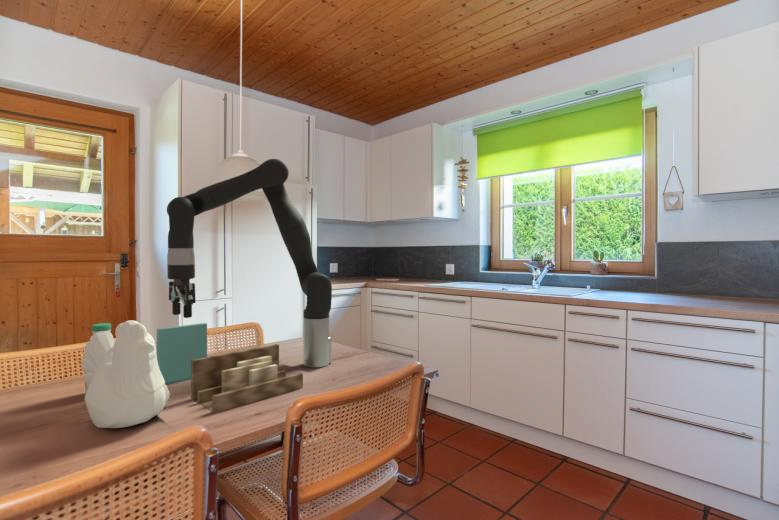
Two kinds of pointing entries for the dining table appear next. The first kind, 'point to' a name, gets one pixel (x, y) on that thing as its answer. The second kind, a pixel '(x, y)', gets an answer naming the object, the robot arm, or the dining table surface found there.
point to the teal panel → (180, 350)
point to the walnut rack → (210, 388)
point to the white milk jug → (123, 377)
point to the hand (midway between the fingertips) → (182, 316)
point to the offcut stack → (249, 373)
